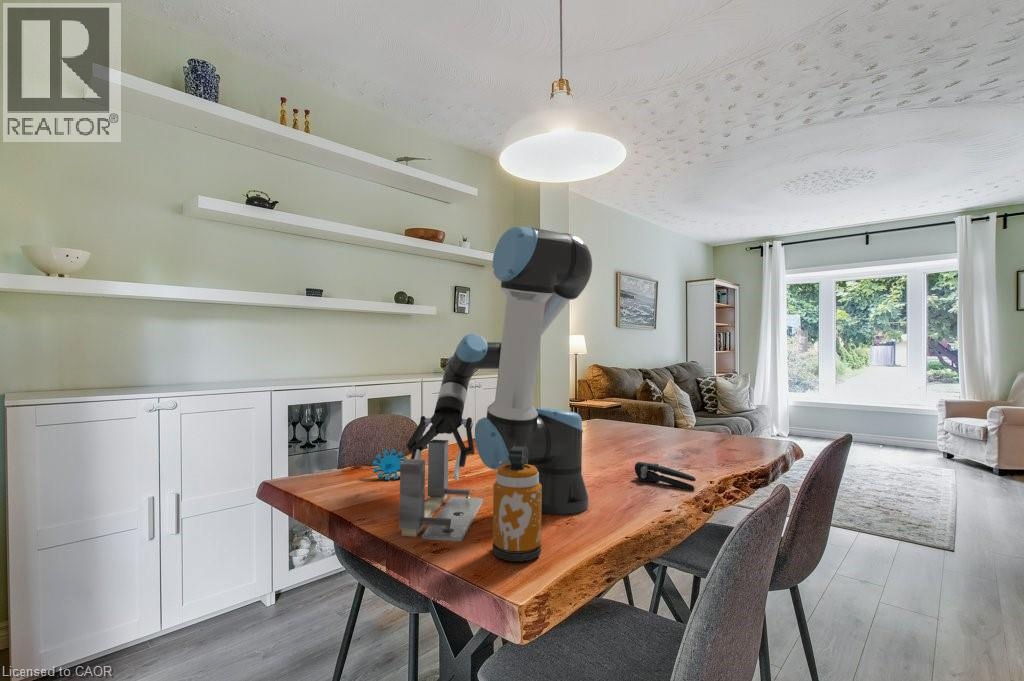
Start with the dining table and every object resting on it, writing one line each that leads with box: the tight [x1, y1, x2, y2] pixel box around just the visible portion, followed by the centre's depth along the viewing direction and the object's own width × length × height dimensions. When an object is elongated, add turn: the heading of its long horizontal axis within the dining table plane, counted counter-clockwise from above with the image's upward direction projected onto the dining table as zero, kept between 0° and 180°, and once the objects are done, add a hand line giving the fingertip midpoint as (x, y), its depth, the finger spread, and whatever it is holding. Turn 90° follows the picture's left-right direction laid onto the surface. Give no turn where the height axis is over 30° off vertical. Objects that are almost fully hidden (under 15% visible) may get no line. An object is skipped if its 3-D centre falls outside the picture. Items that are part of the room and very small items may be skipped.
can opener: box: [634, 461, 697, 491], centre depth 137 cm, size 18×7×6 cm, turn 49°
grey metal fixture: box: [398, 458, 451, 538], centre depth 110 cm, size 26×10×14 cm, turn 174°
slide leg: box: [427, 439, 471, 498], centre depth 119 cm, size 4×10×14 cm, turn 84°
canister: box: [492, 443, 542, 562], centre depth 91 cm, size 9×11×20 cm
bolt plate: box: [421, 495, 484, 542], centre depth 108 cm, size 25×8×1 cm, turn 174°
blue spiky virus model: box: [372, 448, 408, 481], centre depth 141 cm, size 11×6×10 cm
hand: (434, 476), depth 116 cm, fingers open, 10 cm apart
